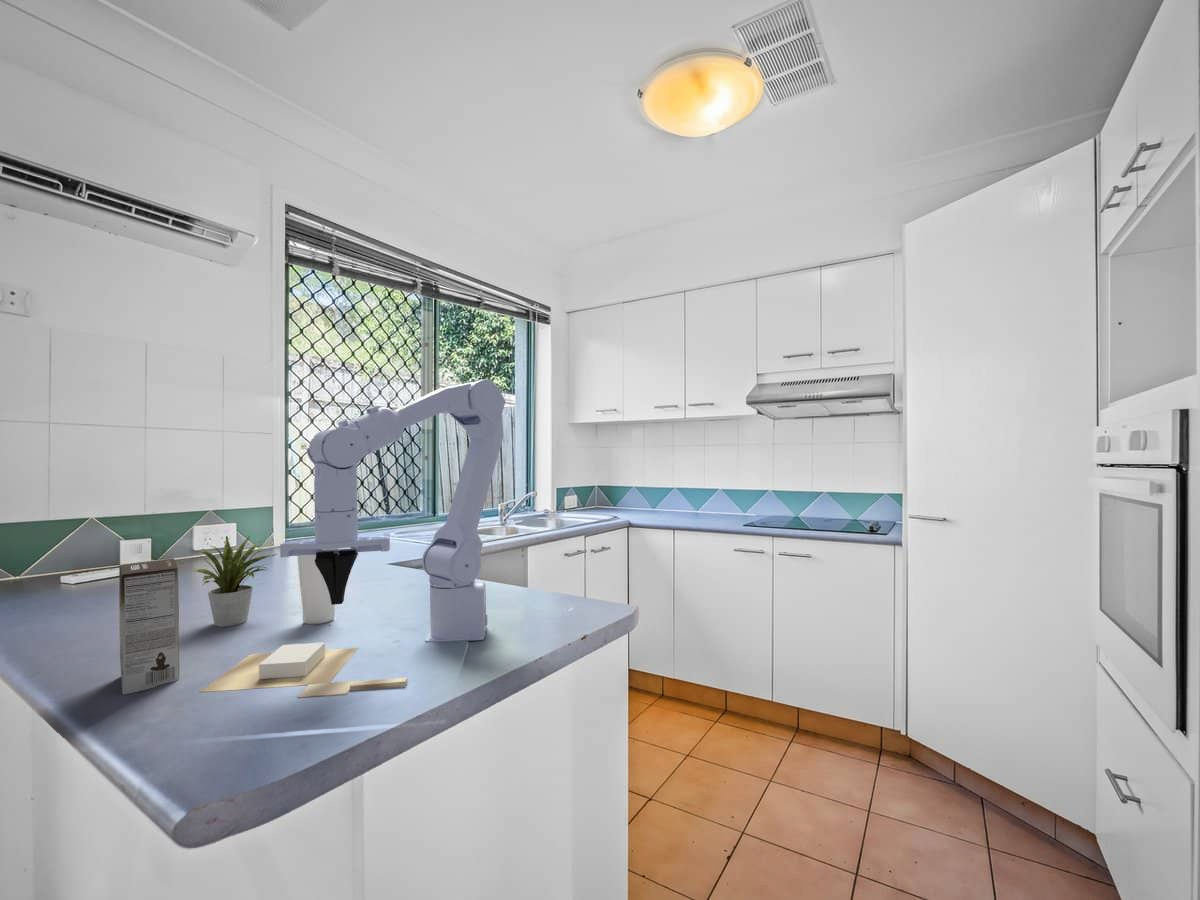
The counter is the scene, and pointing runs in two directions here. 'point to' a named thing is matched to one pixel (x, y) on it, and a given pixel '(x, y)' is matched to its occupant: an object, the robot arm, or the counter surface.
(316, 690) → the beech spatula
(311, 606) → the drinking glass
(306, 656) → the white block
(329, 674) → the bamboo mat
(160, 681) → the coffee box
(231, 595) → the house plant
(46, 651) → the counter surface
